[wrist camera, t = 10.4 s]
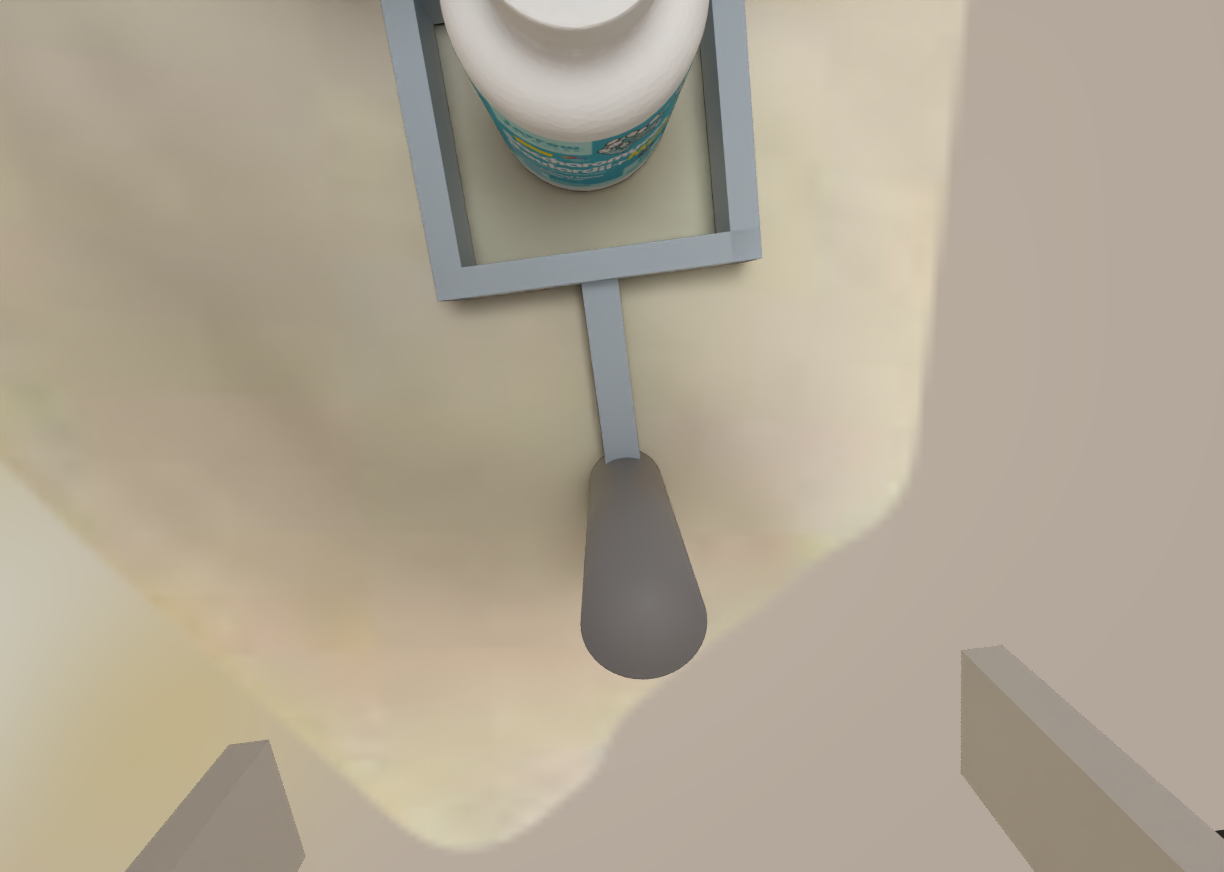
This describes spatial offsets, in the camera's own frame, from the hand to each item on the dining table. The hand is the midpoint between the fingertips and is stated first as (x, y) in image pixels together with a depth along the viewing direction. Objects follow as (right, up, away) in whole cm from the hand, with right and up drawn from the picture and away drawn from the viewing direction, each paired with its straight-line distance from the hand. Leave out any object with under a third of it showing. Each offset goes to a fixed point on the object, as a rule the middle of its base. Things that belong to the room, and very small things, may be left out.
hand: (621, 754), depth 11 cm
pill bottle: (-1, +21, +15) cm, 25 cm away
